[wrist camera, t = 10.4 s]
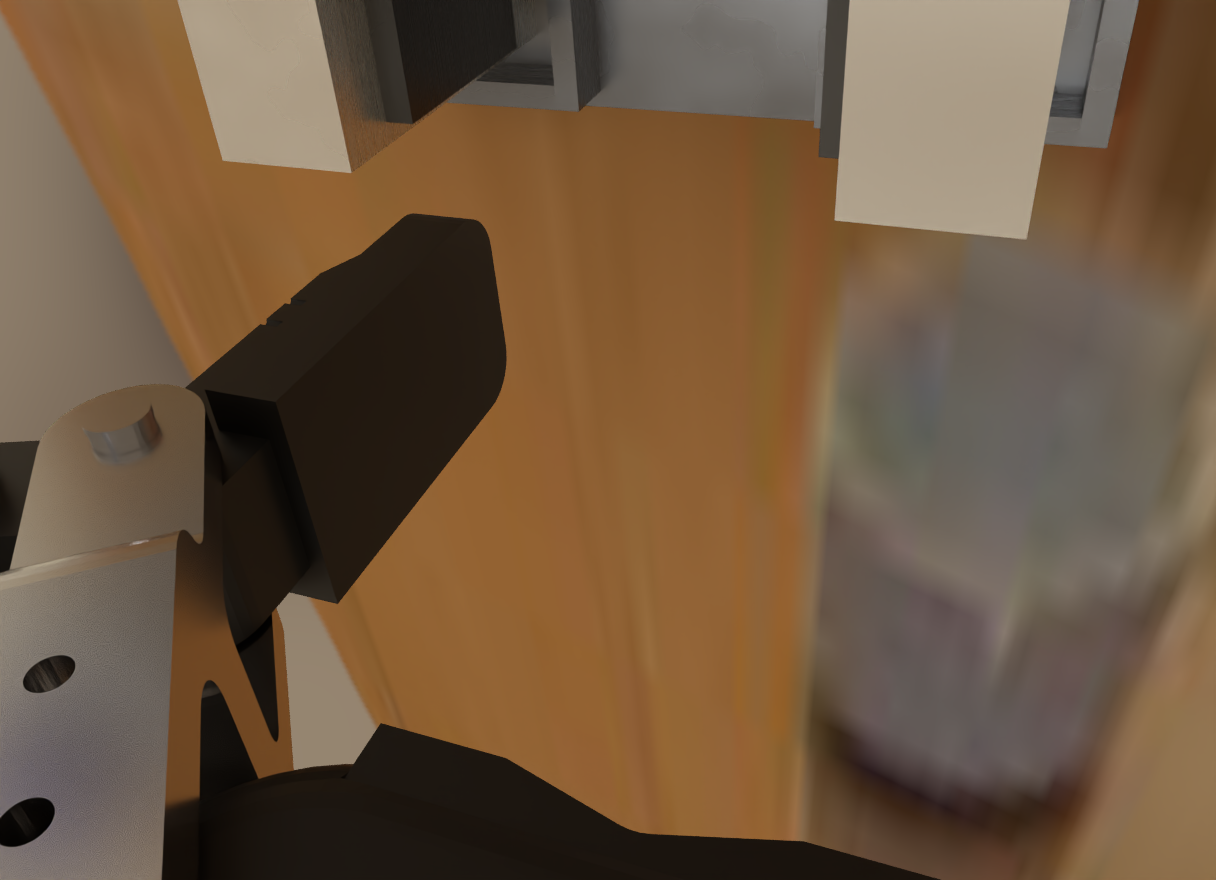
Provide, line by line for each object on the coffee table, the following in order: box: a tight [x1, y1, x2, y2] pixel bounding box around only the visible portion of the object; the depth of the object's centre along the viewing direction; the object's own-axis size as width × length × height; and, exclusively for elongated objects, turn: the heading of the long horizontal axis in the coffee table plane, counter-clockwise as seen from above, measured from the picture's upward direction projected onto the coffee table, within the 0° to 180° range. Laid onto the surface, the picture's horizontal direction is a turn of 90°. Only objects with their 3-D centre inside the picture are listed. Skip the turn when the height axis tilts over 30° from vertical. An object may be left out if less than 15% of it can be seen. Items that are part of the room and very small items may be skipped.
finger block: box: [819, 0, 1070, 240], centre depth 20 cm, size 4×4×9 cm
